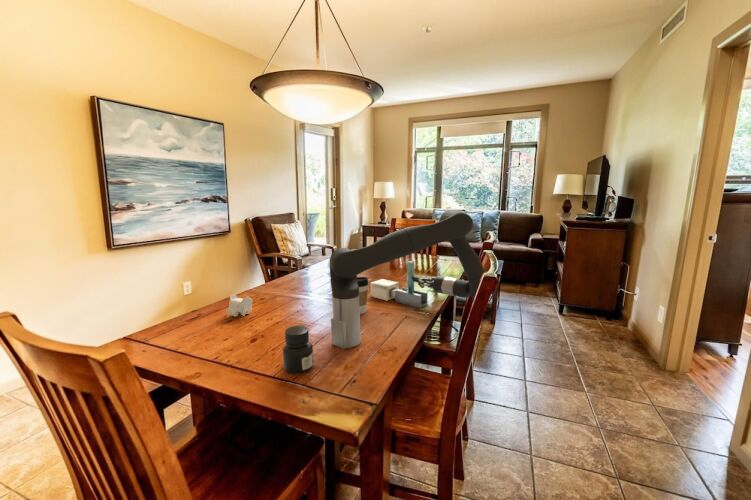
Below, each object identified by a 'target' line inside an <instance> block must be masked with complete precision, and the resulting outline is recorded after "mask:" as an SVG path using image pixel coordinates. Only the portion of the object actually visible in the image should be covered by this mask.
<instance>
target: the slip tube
mask: <svg viewBox="0 0 751 500" xmlns="http://www.w3.org/2000/svg"><path fill="white" fill-rule="evenodd" d="M406 263H407V265H406V266H407V268H406V269H407V270H406V274H407V278H406V279H407V281H406V284H407V286H406V288H407V291H405V290H402V288H401V289H396V288H394V289H391V290H390V297H392V298H393V299H395V290H399V291H403V292H407V293H412V294H416V295H420V296H421V302H422V294H418V293H414V290H415V282H413V277H414V276H415V261H413V260H407V262H406Z"/></svg>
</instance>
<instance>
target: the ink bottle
mask: <svg viewBox="0 0 751 500" xmlns="http://www.w3.org/2000/svg"><path fill="white" fill-rule="evenodd" d="M284 337H285V339H284V340H285V345H284V346H283V348H282V357H283V358H282V359H283V361H282V362H283V369H284V372H286V373H287V372H288V374H290V373H292V375H299V373H301V374H304V372H305V373H307V371H308V372H309V371H310V369H311V370H312V369H313V367H314V366H315V363H314V361H315V360H314V346H313V343H312V342H310V341H309V340H310V339H309V338H310V337H309V327H307V326H305V325H294V326H290V327H287V328H286V329H285V332H284Z"/></svg>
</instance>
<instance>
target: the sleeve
mask: <svg viewBox="0 0 751 500" xmlns="http://www.w3.org/2000/svg"><path fill="white" fill-rule="evenodd" d="M401 290H405V291H407V287H401ZM414 293H418V294H422V302H421V296H420V295H416V294H412V293H407V292H403V291H399V290H395V298H394V300H395V302H396V303H400V304H403V305H406V306H409V307H410V306H411V307H414V308H417V309H422V308H424V307H426V306H427V305H428V292H425V291H420V290H416V289H414Z"/></svg>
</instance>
